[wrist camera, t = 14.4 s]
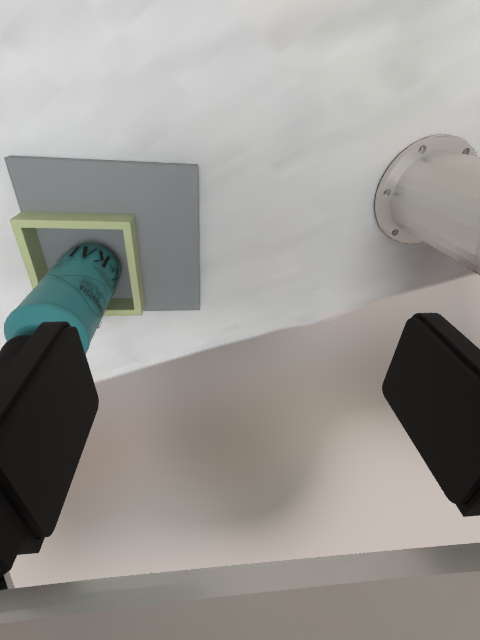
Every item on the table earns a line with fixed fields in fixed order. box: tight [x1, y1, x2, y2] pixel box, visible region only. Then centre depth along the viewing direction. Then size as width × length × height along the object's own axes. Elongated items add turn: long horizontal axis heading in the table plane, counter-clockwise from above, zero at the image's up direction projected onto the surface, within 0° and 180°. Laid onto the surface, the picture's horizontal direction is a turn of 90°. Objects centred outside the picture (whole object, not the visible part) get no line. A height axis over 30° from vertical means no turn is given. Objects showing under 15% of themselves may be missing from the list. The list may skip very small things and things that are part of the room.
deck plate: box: [4, 156, 200, 316], centre depth 37 cm, size 19×18×4 cm
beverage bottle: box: [0, 243, 121, 376], centre depth 30 cm, size 6×7×20 cm
